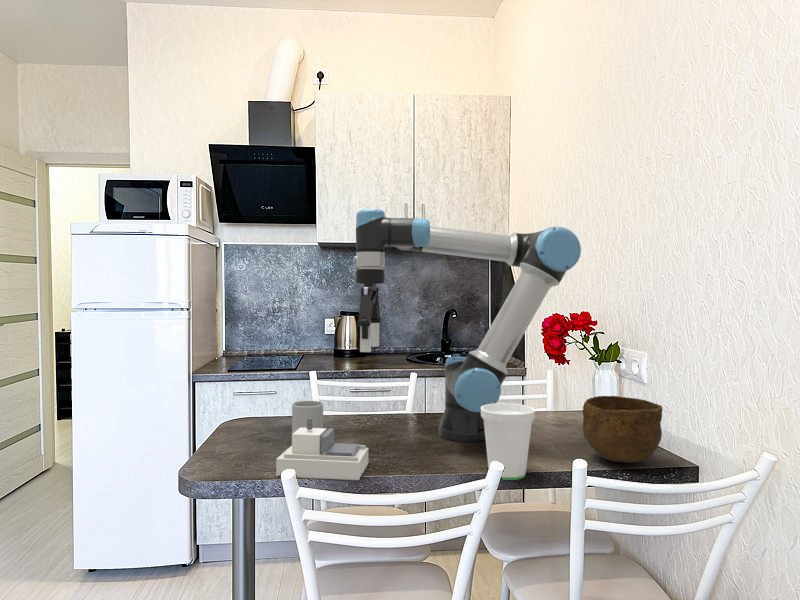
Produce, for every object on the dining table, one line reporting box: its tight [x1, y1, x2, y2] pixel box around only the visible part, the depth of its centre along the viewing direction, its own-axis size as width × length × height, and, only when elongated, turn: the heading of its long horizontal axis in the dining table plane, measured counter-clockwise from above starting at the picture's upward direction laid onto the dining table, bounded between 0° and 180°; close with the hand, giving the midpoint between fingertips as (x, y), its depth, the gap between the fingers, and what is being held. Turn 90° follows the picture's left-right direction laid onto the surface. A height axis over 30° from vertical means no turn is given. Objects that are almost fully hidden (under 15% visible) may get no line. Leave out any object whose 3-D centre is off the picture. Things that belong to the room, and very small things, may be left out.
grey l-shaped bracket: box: [321, 428, 360, 456], centre depth 136 cm, size 7×8×5 cm
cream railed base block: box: [275, 444, 369, 481], centre depth 136 cm, size 19×12×5 cm, turn 83°
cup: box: [481, 402, 536, 481], centre depth 134 cm, size 12×12×15 cm
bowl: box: [582, 395, 664, 464], centre depth 144 cm, size 19×19×15 cm
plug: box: [291, 418, 328, 455], centre depth 137 cm, size 6×6×12 cm
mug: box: [291, 400, 324, 435], centre depth 161 cm, size 12×8×11 cm
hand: (370, 349), depth 154 cm, fingers open, 13 cm apart
